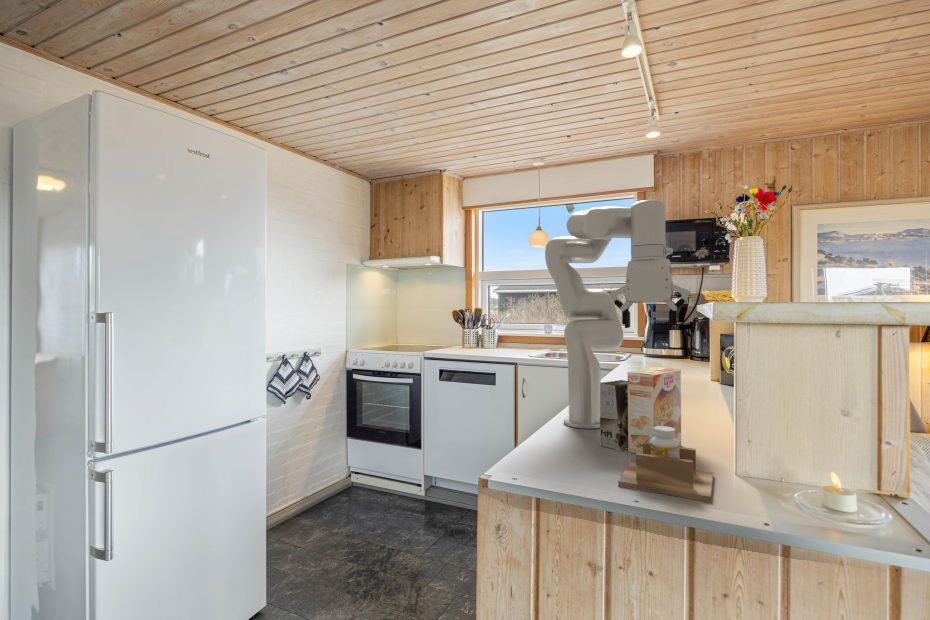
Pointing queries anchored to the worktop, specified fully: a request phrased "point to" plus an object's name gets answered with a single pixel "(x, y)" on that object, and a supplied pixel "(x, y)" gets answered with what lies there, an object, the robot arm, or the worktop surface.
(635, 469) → the holder
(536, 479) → the worktop surface
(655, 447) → the supplement bottle
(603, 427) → the coffee box
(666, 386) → the coffeecake box
